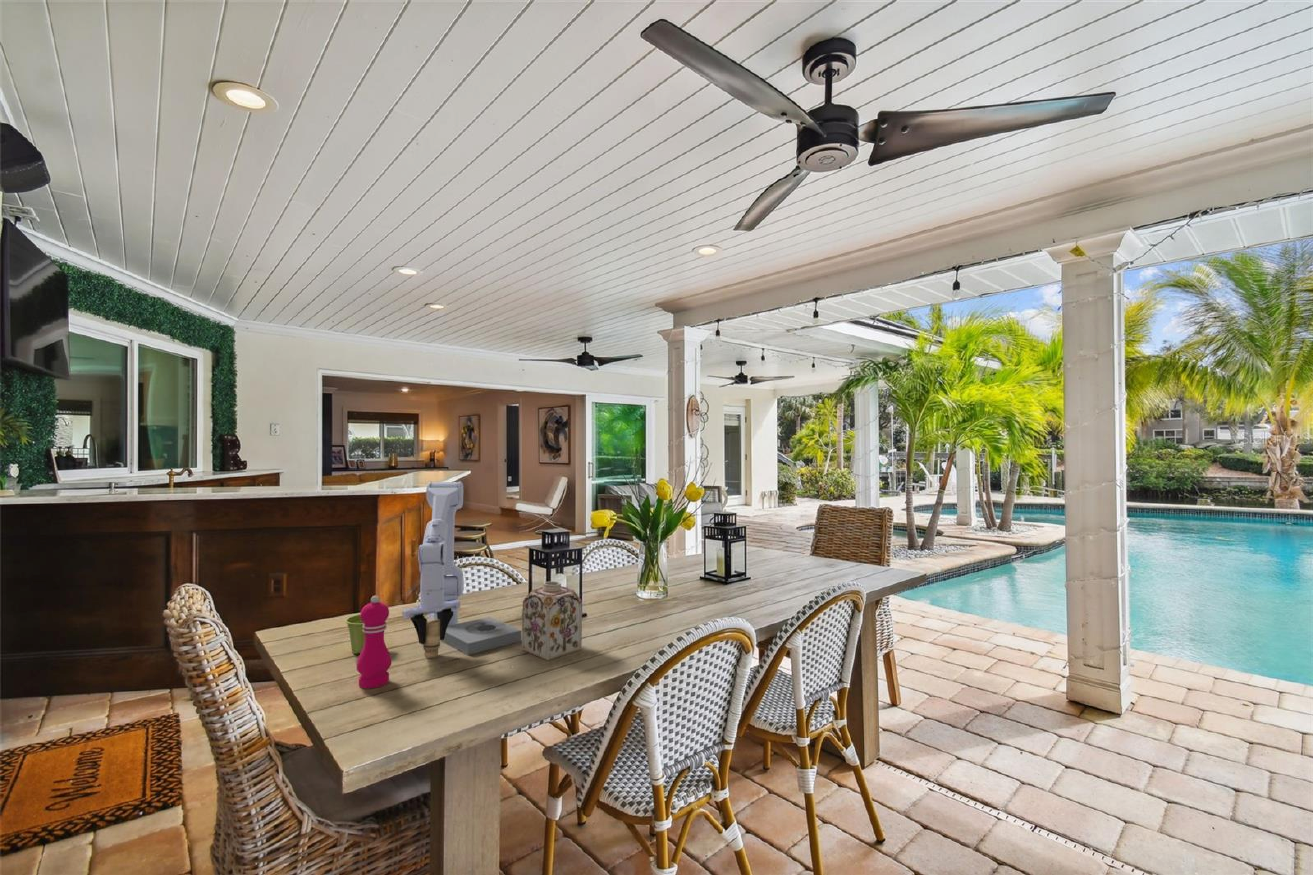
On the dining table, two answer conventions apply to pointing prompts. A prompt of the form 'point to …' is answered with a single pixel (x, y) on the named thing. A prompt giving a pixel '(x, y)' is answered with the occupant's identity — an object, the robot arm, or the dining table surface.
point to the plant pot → (356, 633)
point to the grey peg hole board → (480, 635)
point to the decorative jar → (552, 621)
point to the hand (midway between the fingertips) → (431, 641)
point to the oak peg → (432, 638)
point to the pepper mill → (374, 646)
